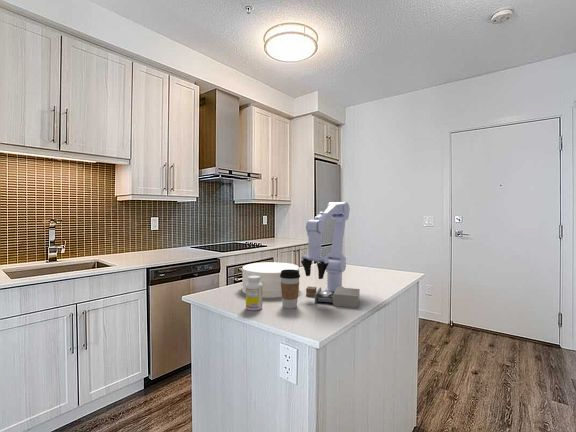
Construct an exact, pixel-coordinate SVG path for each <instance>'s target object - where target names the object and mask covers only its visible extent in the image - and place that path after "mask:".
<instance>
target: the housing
mask: <svg viewBox="0 0 576 432" xmlns="http://www.w3.org/2000/svg"><path fill="white" fill-rule="evenodd" d="M333 292H334V291H333ZM360 292H361V291H360V288H351V287H350V288H349V287H344V288H340V287H337V288H336V290H335V292H334V294H333V303H332V304H333V305H332V306H336V307H343V306H344V308H354V307H356V309H357V308H359V304H360V296H361V295H360V294H361V293H360Z"/></svg>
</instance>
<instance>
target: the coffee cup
mask: <svg viewBox="0 0 576 432" xmlns="http://www.w3.org/2000/svg"><path fill="white" fill-rule="evenodd" d="M280 277H281V292H282V297H281V298H282V299H281V301H282V307H283V308H285V309H295V308H297V307H298V297H299V291H300V277H301V274H300V270H299V271H298V270H292V269H287V270H282V271H281V274H280ZM298 290H299V291H298Z"/></svg>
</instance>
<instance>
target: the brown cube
mask: <svg viewBox="0 0 576 432" xmlns="http://www.w3.org/2000/svg"><path fill="white" fill-rule="evenodd" d="M305 292H306V293H305V294H306V296H305V297H311V298H312V297H313V298H315V297H314V295H315V293H316V292H317V286H307V287H306V288H305Z"/></svg>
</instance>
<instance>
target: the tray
mask: <svg viewBox="0 0 576 432" xmlns="http://www.w3.org/2000/svg"><path fill="white" fill-rule="evenodd" d="M320 291H322V287H319V288H318V290H316V293H315V295H314V297H313V298H314V304H317V303H318V302H322V303H323V302H324V303H332V304H333V294H334V293H333V292H332V298H330V299H326V298H320V297H319V292H320Z"/></svg>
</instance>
